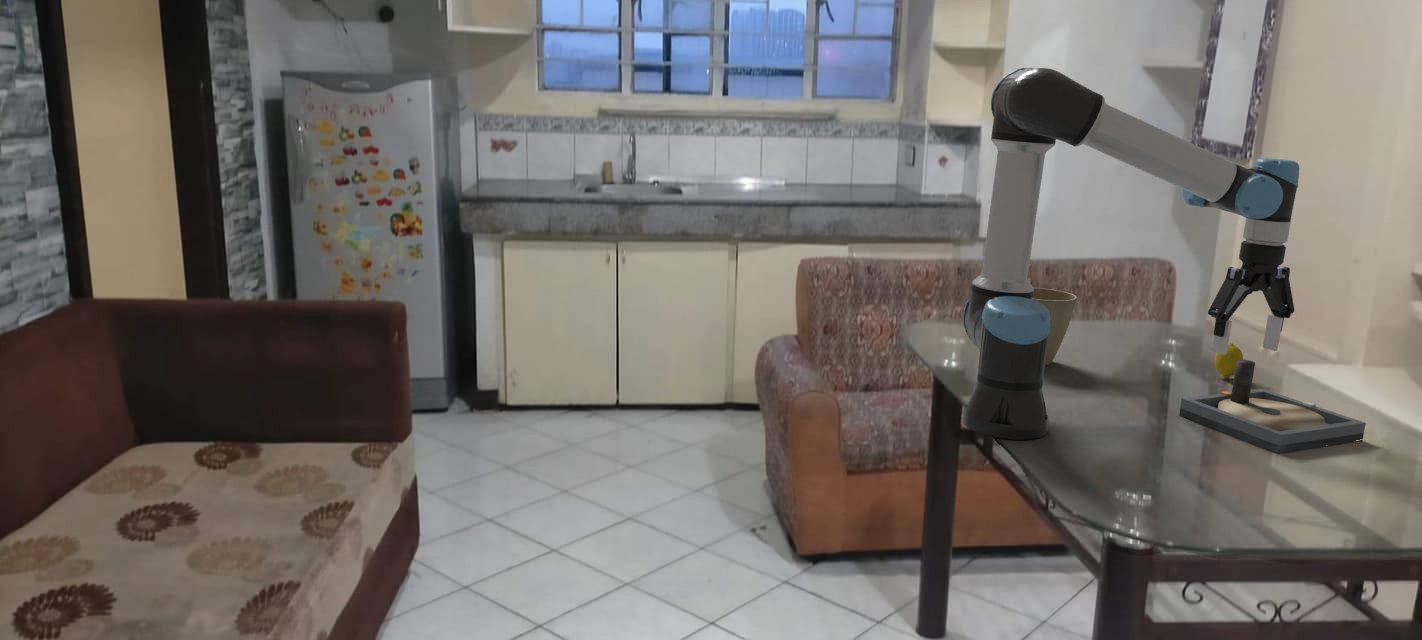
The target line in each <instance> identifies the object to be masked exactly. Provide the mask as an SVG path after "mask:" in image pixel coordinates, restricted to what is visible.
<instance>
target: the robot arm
mask: <svg viewBox="0 0 1422 640" xmlns="http://www.w3.org/2000/svg"><path fill="white" fill-rule="evenodd" d="M990 109H991V110H990V111H991V113H992V116H993V119H992V120H993V121H992V129H991V138H990V141H991V142H992V143H993V144H994V146H995V147H996V149H997V154H996V160H995V161H996V162H995V169H994V170H995V171H994V177H993V178H994V179H993V186H992V193H991V201H990V208H989V216H988V221H987V230H986V235H985V236H986V237H985V244H984V252H983V259H982V268H981V273H980V274H979V275H978V276H977V277H975V278H974V279H973V280H972V282H971V290H970V295H969V298H968V300H967V301H966V303H965V305H964V308H963V311H962V322H963V328H964V329H965V333H966V334H967V337H968V338H969V339H970V341H972V343H973V345H975V346H976V348H978V350H979V355H978V366H977V377H976V383H975V386H974V389H973V390H972V393H971V395H970V398H969V401H968V402H967V403H968V404H967V405H966V406H965V408H964V410H963V418H962V419H963V420H962V421H963V424H964V426H966V428H968V429H969V430H972V431H974V432H976V433H978V434H981V435H985V436H988V437H993V438H996V439H997V438H998V439H1004V440H1021V441H1022V440H1023V441H1024V440H1033V439H1039V438H1042V437H1044V436H1046V435H1047V434H1048V431H1049V430H1048V429H1049V421H1050V420H1049V416H1048V414H1047V407H1046V402H1045V398H1044V392H1043V386H1044V385H1043V384H1044V378H1045V376H1044V375H1045V369H1046V365H1045V360H1046V352H1047V343H1048V334H1049V332H1050V314H1049V311H1048V309H1047V308H1046V307H1045V306H1044V305H1042V304H1041V303H1039V302H1037V301H1032V300H1033V292H1034V288H1035V287H1034V286H1033V285H1032V284H1031V283H1030V281H1029V279H1028V277H1029V276H1028V275H1029V270H1030V269H1029V268H1030V264H1031V263H1030V262H1031V255H1032V248H1033V240H1034V234H1035V227H1036V226H1035V225H1036V222H1037V221H1036V220H1037V219H1036V218H1037V213H1038V206H1039V205H1038V204H1039V201H1040V200H1039V199H1040V193H1041V186H1042V179H1043V178H1042V177H1043V172H1044V165H1045V159H1046V154H1047V153H1048V152H1049V151H1050V150H1051V149H1052V148H1053V147H1055V146H1056V142H1057V141H1056V140H1058V141H1061V142H1063V143H1066V144H1068V145H1070V146H1072V147H1075V148H1077V147H1079V146H1082V145H1085V146H1087V147H1089V148H1091V149H1094V150H1096V151H1098V152H1100V153H1102V154H1105V155H1106V156H1109V157H1111V158H1113V159H1115V160H1118V161H1120V162H1123V163H1125V164H1127V165H1129V166H1130V167H1134V168H1136V169H1137V170H1140V171H1142V172H1144V173H1147V174H1149V175H1151V176H1154V177H1155V178H1158V179H1160V180H1161V181H1165V182H1166V183H1169V184H1171V185H1173V186H1175V187H1177V188H1180V189H1181V190H1182V197H1183V200H1184V202H1185V203H1186V205H1188V206H1190V207H1191V206H1192V207H1200V208H1202V209H1203V208H1214V209H1218V210H1221V211H1224V212H1227V213H1233V214H1236V215H1238V216H1241V217H1244V218H1245V223H1244V228H1243V234H1242V237H1243V238H1244V240H1243V241H1242V242H1241V244H1240V249H1239V254H1238V259H1239V260H1240V261H1241V262H1242V265H1241V267H1240V268H1238V267H1233V266H1229V267H1228V268H1227V271H1226V272H1227V273H1226V277H1225V279H1224V280H1223V282H1222V285H1221V286H1220V288H1219V291H1218V292H1217V294H1216V296H1215V298H1214V299H1213V301H1212V303H1211V305H1210V306H1209V308H1208V311H1207V315H1209V316H1211V318H1215V322H1214V327H1213V329H1214V330H1213V336H1214V337H1213V342H1212V347H1211V352H1214V353H1216V354H1217V353H1220V354H1223V355H1226V354H1227V348H1228V345H1229V341H1230V336H1231V329H1232V324H1233V321H1232V320H1229V319H1230V318H1231V317H1232V316H1233V315H1234V313H1235V312H1236V311H1237V309H1238V308H1239V307H1240V306H1241V304H1242V303H1243V302H1244V300H1245V299H1246V298H1247V297H1248V296H1249V295H1251V294H1253V292H1259V291H1261V292H1262V294H1263V295H1264V298H1265V301H1266V303H1267V305H1268V307H1269V310H1270V312H1271V314H1268V315H1267V321H1266V325H1265V332H1264V338H1263V343H1262V348H1264V349H1267V350H1270V351H1273V352H1275V351H1276V352H1277V351H1278V348H1279V342H1280V337H1281V333H1282V331H1283V328H1284V327H1283V326H1284V319H1290V318H1291V315H1292V314H1294V313H1295V305H1294V301H1293V300H1294V299H1293V293H1292V290H1291V289H1292V288H1291V283H1290V282H1291V281H1290V274H1291V268H1290V267H1287V266H1283V263H1284V261H1285V260H1284V259H1285V255H1286V254H1285V253H1286V249H1287V247H1286V245H1285V244H1286V243H1287V242H1288V241H1289V235H1290V230H1291V229H1290V228H1291V223H1292V222H1291V221H1292V215H1293V214H1292V213H1293V209H1294V204H1295V199H1296V193H1297V191H1298V190H1297V189H1298V188H1299V177H1300V165H1299V163H1298V162H1297V161H1294V160H1291V159H1280V158H1264V157H1263V158H1262V157H1261V158H1258V159H1256V160H1255V163H1254V164H1253V166H1252V168H1251V167H1250V168H1246V167H1244V166H1242V165H1240V164H1236V163H1235V162H1234V161H1231V160H1229V159H1227V158H1224V157H1223V156H1220V155H1217V154H1216V153H1213V152H1211V151H1210V150H1207V149H1205V148H1203V147H1201V146H1198V145H1197V144H1194V143H1191V142H1190V141H1187V140H1185V139H1183V138H1181V137H1179V136H1176V135H1174V134H1172V133H1171V132H1168V131H1166V130H1164V129H1161V128H1159V127H1157V126H1155V125H1153V124H1151V123H1148V122H1146V121H1144V120H1141V119H1140V118H1137V117H1136V116H1133V115H1130V114H1129V113H1127V112H1124V111H1122V110H1120V109H1119V108H1116V107H1113V106H1112V105H1109V104H1108V103H1106V100H1105V97H1104V95H1102V94H1100V93H1097V92H1096V91H1094V90H1092V89H1090V88H1089V87H1086V86H1084V85H1082V84H1080V83H1079V82H1077V81H1075V80H1074V79H1072V78H1071V77H1069V76H1068V75H1065V74H1063V72H1059V71H1058V70H1056V69H1053V68H1048V67H1038V68H1037V67H1036V68H1034V67H1022V68H1018V69H1016V70H1013V71H1010V72H1009V73H1008V74H1005V76H1003V77H1002V78H1001V79H1000V80H999V81H998V82H997V84H996V85H995V87H994V89H993V91H992V95H991V99H990Z"/></svg>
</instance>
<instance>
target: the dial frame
mask: <svg viewBox="0 0 1422 640" xmlns="http://www.w3.org/2000/svg"><path fill="white" fill-rule="evenodd" d="M1231 394H1232V392H1229V391H1227V390H1226V391H1220V393H1217V394H1216V393H1215V394H1207V395H1200V396H1191V397H1183V398H1181V402H1180V408H1179V414H1178V415H1179V417H1181V418H1184V419H1187V420H1190V421H1193V422H1195V423H1197V424H1199V425H1200V424H1201V425H1203V426H1205V427H1208V428H1210V429H1213V430H1215V431H1218V432H1221V433H1223V434H1226V435H1229V436H1231V437H1234V438H1237V439H1239V440H1241V441H1244V442H1246V443H1249V444H1252V445H1255V446H1257V447H1259V448H1262V449H1265V450H1267V451H1270V452H1273V453H1275V454H1277V455H1279V454H1286V453H1290V452H1291V453H1292V452H1293V453H1294V452H1298V451H1304V449H1306V450H1312V449H1318V448H1324V447H1323V446H1325V447H1327V446H1326V445H1332V446H1337V445H1344V444H1345V445H1346V444H1350V443H1351V444H1352V443H1355V442H1354V441H1356V440H1360V439H1363V440H1364V436H1365V435H1364V434H1365V429H1366V424H1367V423H1366V422H1365V421H1362V420H1358V419H1355V418H1352V417H1349V416H1346V415H1343V414H1340V413H1337V412H1334V411H1332V410H1328V409H1325V408H1323V407H1319V406H1316V405H1317V404H1316V403H1313V402H1310V401H1304V402H1303V401H1301V400H1299V399H1298V400H1297V399H1294V398H1292V397H1290V396H1289V397H1288V396H1285V395H1283V394H1279V393H1277V392H1273V391H1270V390H1268V389H1264V388H1258V389H1257V388H1256V389H1251V392H1250V398H1257V399H1266V400H1273V401H1279V402H1284V403H1288V404H1292V405H1296V406H1300V407H1303V408H1306V409H1309V410H1311V411H1313V412H1316V413H1318V414H1319V415H1321V416H1322V417H1323V418H1324V419H1325V425H1321V426H1314V427H1307V428H1300V429H1293V430H1286V431H1277V430H1274V429H1272V428H1269V427H1266V426H1264V425H1261V424H1258V423H1255V422H1253V421H1250V420H1247V419H1244V418H1242V417H1239V416H1236V415H1233V414H1231V413H1228V412H1225V411H1222V410H1220V409H1218V404H1219V402H1220V401H1222V400H1225V399H1230V398H1231Z"/></svg>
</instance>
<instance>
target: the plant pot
mask: <svg viewBox="0 0 1422 640" xmlns="http://www.w3.org/2000/svg"><path fill="white" fill-rule="evenodd" d="M1033 288H1034V292H1033V300H1032V301H1037V302H1039V303H1041V304H1042V305H1044V306H1045V307H1046V308H1047V309H1048V311H1049V314H1050V332H1049V334H1048V343H1047V352H1046V360H1045V366H1049V365H1051V364H1052V362H1053V361H1054V359H1055V357H1056V355H1057V353H1058V351H1059V349H1060V348H1061V344H1062V343H1063V341H1064V339H1065V335H1066V333H1067V331H1068V328H1069V325H1070V322H1071V319H1072V317H1073V313H1074V310H1075V306H1076V303H1077V298H1078V297H1077V295H1075V294H1073V293H1071V292H1066V291H1062V290H1058V289H1053V288H1052V289H1050V288H1044V287H1033Z"/></svg>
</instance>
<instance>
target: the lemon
mask: <svg viewBox="0 0 1422 640" xmlns="http://www.w3.org/2000/svg"><path fill="white" fill-rule="evenodd" d="M1237 360H1244V355H1243V352H1242V350H1241V349H1240V348H1239V347H1237V346H1236V345H1234V343H1228V348H1227V354H1226V355H1223V354H1220V353H1216V354H1215V357H1214V367H1215V369H1216V371H1217V372H1218V373H1219V374H1220V375H1221V376H1223V377H1224V379H1229V378H1230V377H1234V375H1235V368H1236V362H1237Z"/></svg>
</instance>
